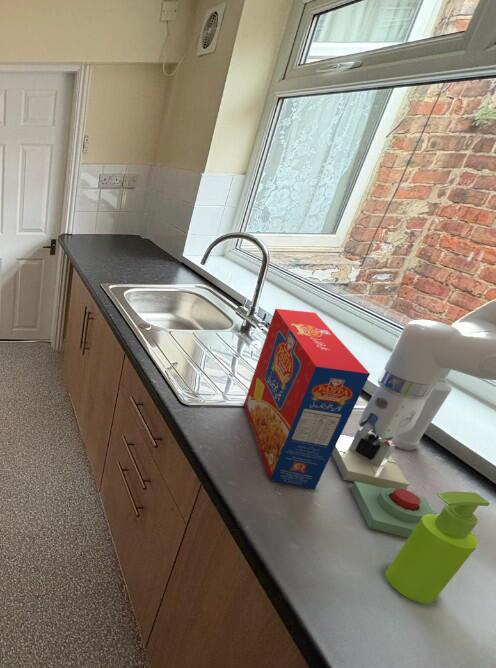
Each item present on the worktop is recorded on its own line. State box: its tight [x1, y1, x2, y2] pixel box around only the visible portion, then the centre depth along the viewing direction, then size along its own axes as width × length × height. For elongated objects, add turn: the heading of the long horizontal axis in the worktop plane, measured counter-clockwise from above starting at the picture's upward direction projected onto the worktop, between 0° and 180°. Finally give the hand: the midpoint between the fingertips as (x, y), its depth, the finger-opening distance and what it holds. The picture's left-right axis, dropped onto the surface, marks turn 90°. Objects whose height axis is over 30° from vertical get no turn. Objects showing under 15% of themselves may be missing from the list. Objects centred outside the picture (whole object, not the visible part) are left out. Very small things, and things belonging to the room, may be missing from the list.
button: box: [391, 489, 421, 511], centre depth 77 cm, size 4×4×2 cm
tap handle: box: [349, 427, 397, 467], centre depth 88 cm, size 6×2×6 cm, turn 19°
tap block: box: [331, 434, 410, 490], centre depth 90 cm, size 13×10×3 cm
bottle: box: [390, 368, 453, 451], centre depth 91 cm, size 5×5×25 cm
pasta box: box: [243, 308, 371, 490], centre depth 92 cm, size 28×8×28 cm, turn 161°
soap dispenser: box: [385, 491, 490, 604], centre depth 63 cm, size 6×7×20 cm
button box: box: [350, 481, 436, 539], centre depth 78 cm, size 11×10×4 cm
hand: (368, 453), depth 89 cm, fingers closed on tap handle, 2 cm apart
